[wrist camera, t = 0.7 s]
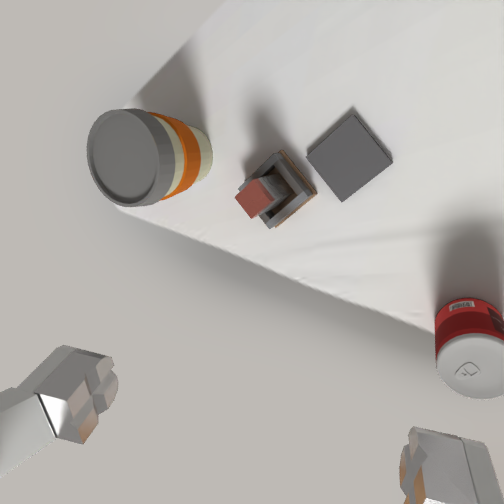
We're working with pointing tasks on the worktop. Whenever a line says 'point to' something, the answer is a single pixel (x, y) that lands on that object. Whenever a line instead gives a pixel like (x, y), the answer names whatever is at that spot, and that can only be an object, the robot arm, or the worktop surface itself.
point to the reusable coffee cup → (145, 156)
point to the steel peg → (263, 194)
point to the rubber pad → (348, 158)
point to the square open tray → (293, 179)
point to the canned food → (470, 348)
